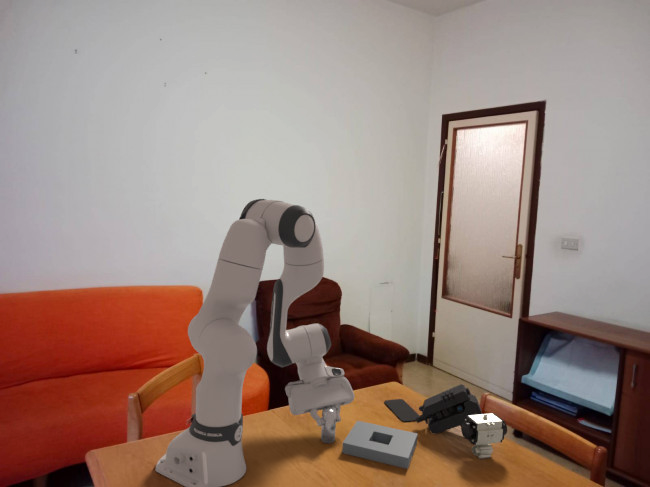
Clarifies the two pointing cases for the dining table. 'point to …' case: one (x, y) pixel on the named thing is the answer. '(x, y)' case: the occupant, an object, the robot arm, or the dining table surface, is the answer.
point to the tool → (448, 409)
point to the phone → (401, 410)
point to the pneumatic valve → (483, 432)
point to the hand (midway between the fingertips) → (329, 423)
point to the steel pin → (328, 425)
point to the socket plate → (380, 444)
